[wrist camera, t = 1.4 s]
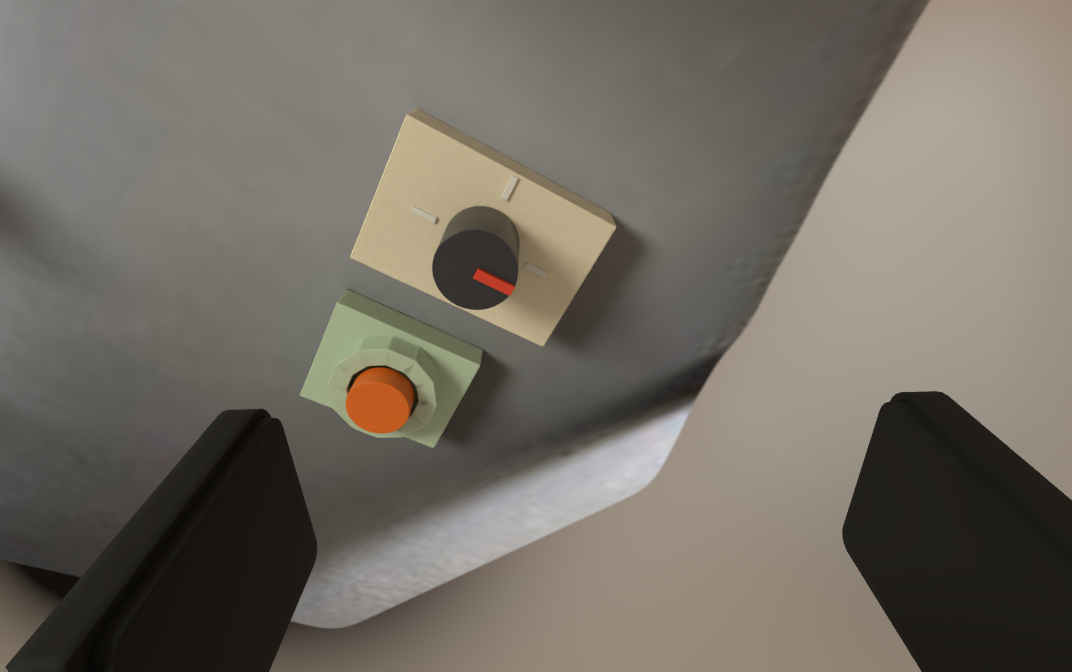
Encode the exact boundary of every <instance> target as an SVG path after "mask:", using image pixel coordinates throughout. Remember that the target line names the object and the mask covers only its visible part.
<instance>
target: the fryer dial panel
mask: <svg viewBox="0 0 1072 672" xmlns="http://www.w3.org/2000/svg"><path fill="white" fill-rule="evenodd" d="M473 206H486V207H491V208H494V209H496V210H499V211H500V212H502V213H504V214H505V215H506V216H507V217H508V218H509V219H510V220H511V221H512V222H513V224H514V226H515V227H516V229H517V232H518V235H519V242H520V245H519V266H518V278H517V282H516V285H515V288H514V290H513V292H512V294H511V296H508V298H507V299H505V300H504V301H503V302H502V303H500V304H498V305H496V306H494V307H492V308H489V309H484V310H471V309H466V308H462V307H460V306H457V305H455V304H453V303H452V302H450V301H449V300H448V299H447V298H445V297H444V296H443V294H442V293H441V292H440V291H439V289H438V288H437V286H436V284H435V281H434V278H433V273H432V262H433V257H434V255H435V252H436V250H437V248H438V245H439V243H440V241H441V239H442V236H443V234H444V232H445V230H446V227H447V225H448V223H449V222H450V220H451V219H452V218H453V217H454V216H455V215H456V214H457V213H459V212H460V211H462V210H464V209H466V208H469V207H473ZM615 229H616V225H615V222H614V220H613V218H612V216H611V214H610V212H608V211H606V210H604V209H602V208H600V207H598V206H597V205H595V204H593V203H591V202H589V201H587V200H586V199H584V198H582V197H580V196H578V195H576V194H574V193H573V192H571V191H569V190H567V189H565V188H563V187H562V186H560V185H558V184H556V183H554V182H552V181H550V180H549V179H547V178H545V177H543V176H541V175H539V174H538V173H536V172H534V171H532V170H530V169H528V168H526V167H525V166H523V165H521V164H519V163H517V162H515V161H514V160H512V159H510V158H508V157H506V156H504V155H502V154H501V153H499V152H497V151H495V150H493V149H491V148H490V147H488V146H486V145H484V144H482V143H480V142H478V141H477V140H475V139H473V138H471V137H469V136H467V135H466V134H464V133H462V132H460V131H458V130H456V129H454V128H453V127H451V126H449V125H447V124H445V123H443V122H442V121H440V120H438V119H436V118H434V117H432V116H430V115H429V114H427V113H425V112H423V111H421V110H419V109H415V110H414V111H412V112H410V113H409V114H407V115H406V117H405V120H404V122H403V125H402V127H401V130H400V132H399V135H398V137H397V140H396V142H395V145H394V147H393V150H392V152H391V155H390V157H389V160H388V163H387V165H386V168H385V170H384V173H383V175H382V178H381V180H380V183H379V185H378V188H377V190H376V193H375V195H374V198H373V200H372V203H371V205H370V208H369V211H368V213H367V216H366V218H365V221H364V223H363V226H362V228H361V231H360V233H359V236H358V238H357V241H356V243H355V246H354V248H353V251H352V253H351V256H350V258H352V259H354V260H356V261H358V262H360V263H362V264H365V265H367V266H369V267H371V268H373V269H375V270H378V271H380V272H382V273H384V274H386V275H388V276H391V277H393V278H395V279H397V280H399V281H401V282H404V283H406V284H408V285H410V286H412V287H414V288H417V289H419V290H421V291H423V292H425V293H427V294H430V295H432V296H434V297H436V298H438V299H440V300H443V301H445V302H447V303H449V304H451V305H453V306H456V307H458V308H460V309H462V310H464V311H466V312H469V313H471V314H473V315H475V316H477V317H479V318H482V319H484V320H486V321H488V322H490V323H492V324H495V325H497V326H499V327H501V328H503V329H505V330H508V331H510V332H512V333H514V334H516V335H518V336H521V337H523V338H525V339H527V340H529V341H531V342H533V343H536V344H538V345H540V346H542V347H543V346H544V345H545V343H546V342H547V340H548V338H549V337H550V335H551V333H552V332H553V330H554V329H555V327H556V325H557V324H558V322H559V320H560V319H561V317H562V316H563V314H564V312H565V311H566V309H567V307H568V306H569V304H570V303H571V301H572V299H573V298H574V296H575V294H576V293H577V291H578V290H579V288H580V286H581V285H582V283H583V281H584V280H585V278H586V277H587V275H588V273H589V272H590V270H591V268H592V267H593V265H594V264H595V262H596V260H597V259H598V257H599V255H600V254H601V252H602V251H603V249H604V247H605V246H606V244H607V242H608V241H609V239H610V238H611V236H612V234H613V233H614V231H615Z"/></svg>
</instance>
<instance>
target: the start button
mask: <svg viewBox="0 0 1072 672" xmlns="http://www.w3.org/2000/svg"><path fill="white" fill-rule="evenodd" d="M413 402H414V390H413V387H412V385H411V383H410V382H409V380H408V379H407V378H406V377H405V376H404V375H402V374H401V373H399V372H397V371H395V370H393V369H389V368H383V367H377V368H371V369H368V370H366V371H364V372H362V373H361V374H360V375H359V376H358V377H357V378H356V380H355V382H354V384H353V386H352V388H351V389H350V391H349V393H348V395H347V398H346V410H347V413H348V415H349V417H350V419H351V420H352V421H353V422H354V423H355V424H356V425H357V426H359V427H360V428H362V429H364V430H366V431H369V432H373V433H380V434H383V433H390V432H393V431H396V430H398V429H399V428H401V427H402V426H403V425H404V424H405V423H406V421H407V420H408V417H409V415H410V411H411V408H412V405H413Z"/></svg>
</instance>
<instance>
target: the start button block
mask: <svg viewBox="0 0 1072 672" xmlns="http://www.w3.org/2000/svg"><path fill="white" fill-rule="evenodd" d="M482 352H483V350H482V349H480V348H478V347H476V346H474V345H471V344H469V343H467V342H465V341H462V340H460V339H458V338H456V337H453V336H451V335H449V334H447V333H444V332H442V331H440V330H438V329H436V328H433V327H431V326H429V325H427V324H424V323H422V322H420V321H418V320H415V319H413V318H411V317H409V316H407V315H404V314H402V313H400V312H398V311H395V310H393V309H391V308H389V307H386V306H384V305H382V304H380V303H378V302H375V301H373V300H371V299H369V298H366V297H364V296H362V295H360V294H357V293H355V292H353V291H351V290H348V289H347V290H346V291H345V292H344V294H343V295H342V297H341V298H340V299H339V301H338V302H337V304H336V306H335V309H334V311H333V314H332V316H331V319H330V321H329V324H328V326H327V329H326V331H325V334H324V336H323V339H322V341H321V344H320V346H319V349H318V351H317V354H316V356H315V359H314V361H313V364H312V366H311V369H310V371H309V374H308V376H307V379H306V381H305V384H304V386H303V389H302V391H301V394H300V396H302V397H305V398H307V399H310V400H312V401H315V402H317V403H320V404H323V405H325V406H328V407H330V408H333V409H334V410H335V411H336V412H337V413H338V414H339V415H340V416H341V417H342V418H343V419H344V420H345V421H346V422H347V423H348V424H349V425H350V426H351V427H352V428H353V429H356V430H359V431H361V432H364V433H366V434H369V435H371V436H374V437H376V438H377V437H378V438H392V437H406V438H409V439H411V440H414V441H416V442H419V443H421V444H424V445H427V446H429V447H432V448H434V447H435V445H436V444H437V442H438V440H439V438H440V436H441V435H442V433H443V431H444V429H445V428H446V426H447V424H448V422H449V421H450V419H451V417H452V415H453V413H454V412H455V410H456V408H457V406H458V405H459V403H460V401H461V399H462V398H463V396H464V394H465V392H466V390H467V389H468V387H469V385H470V383H471V382H472V380H473V378H474V376H475V375H476V373H477V371H478V369H479V367H480V365H481V359H482ZM377 367H383V368H389V369H393V370H395V371H397V372H399V373H401V374H402V375H404V376H405V377H406V378H407V379H408V380H409V382H410V383H411V385H412V387H413V390H414V402H413V405H412V408H411V411H410V415H409V417H408V420H407V421H406V423H405V424H404V425H403V426H402V427H401V428H399V429H398V430H396V431H393V432H390V433H383V434H380V433H373V432H369V431H366V430H364V429H362V428H360V427H359V426H357V425H356V424H355V423H354V422H353V421H352V420H351V419H350V417H349V415H348V413H347V410H346V398H347V395H348V393H349V391H350V389H351V388H352V386H353V384H354V382H355V380H356V378H357V377H358V376H359V375H360V374H361V373H362V372H364V371H366V370H368V369H371V368H377Z"/></svg>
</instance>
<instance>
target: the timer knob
mask: <svg viewBox="0 0 1072 672" xmlns="http://www.w3.org/2000/svg"><path fill="white" fill-rule="evenodd" d="M519 245H520V242H519V235H518V232H517V229H516V227H515V226H514V224H513V222H512V221H511V220H510V219H509V218H508V217H507V216H506V215H505V214H504V213H502V212H500V211H499V210H496V209H494V208H491V207H486V206H473V207H469V208H466V209H464V210H462V211H460V212H459V213H457V214H456V215H455V216H454V217H453V218H452V219H451V220H450V222H449V223H448V225H447V227H446V230H445V232H444V234H443V236H442V239H441V241H440V243H439V245H438V248H437V250H436V252H435V255H434V257H433V262H432V273H433V278H434V281H435V284H436V286H437V288H438V289H439V291H440V292H441V293H442V294H443V296H444V297H445V298H447V299H448V300H449V301H450V302H452V303H453V304H455V305H457V306H460V307H462V308H466V309H471V310H484V309H489V308H492V307H494V306H496V305H498V304H500V303H502V302H503V301H504V300H505V299H507V298H508V296H511V294H512V292H513V290H514V288H515V285H516V282H517V278H518V266H519Z"/></svg>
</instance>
